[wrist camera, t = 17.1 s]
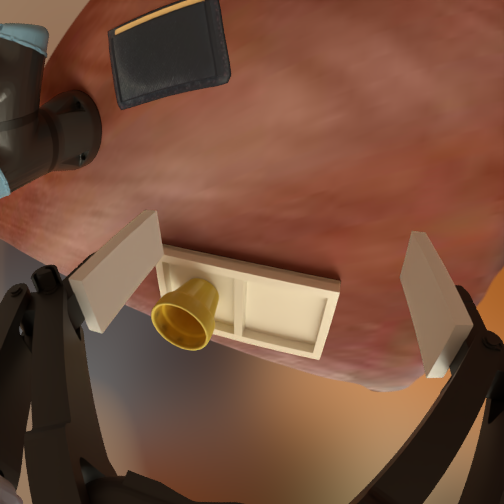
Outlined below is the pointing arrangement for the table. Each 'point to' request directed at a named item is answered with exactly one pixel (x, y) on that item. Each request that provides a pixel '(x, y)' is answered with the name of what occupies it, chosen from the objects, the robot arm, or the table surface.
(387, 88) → the table surface
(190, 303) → the plant pot
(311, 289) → the divided tray
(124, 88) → the wallet
